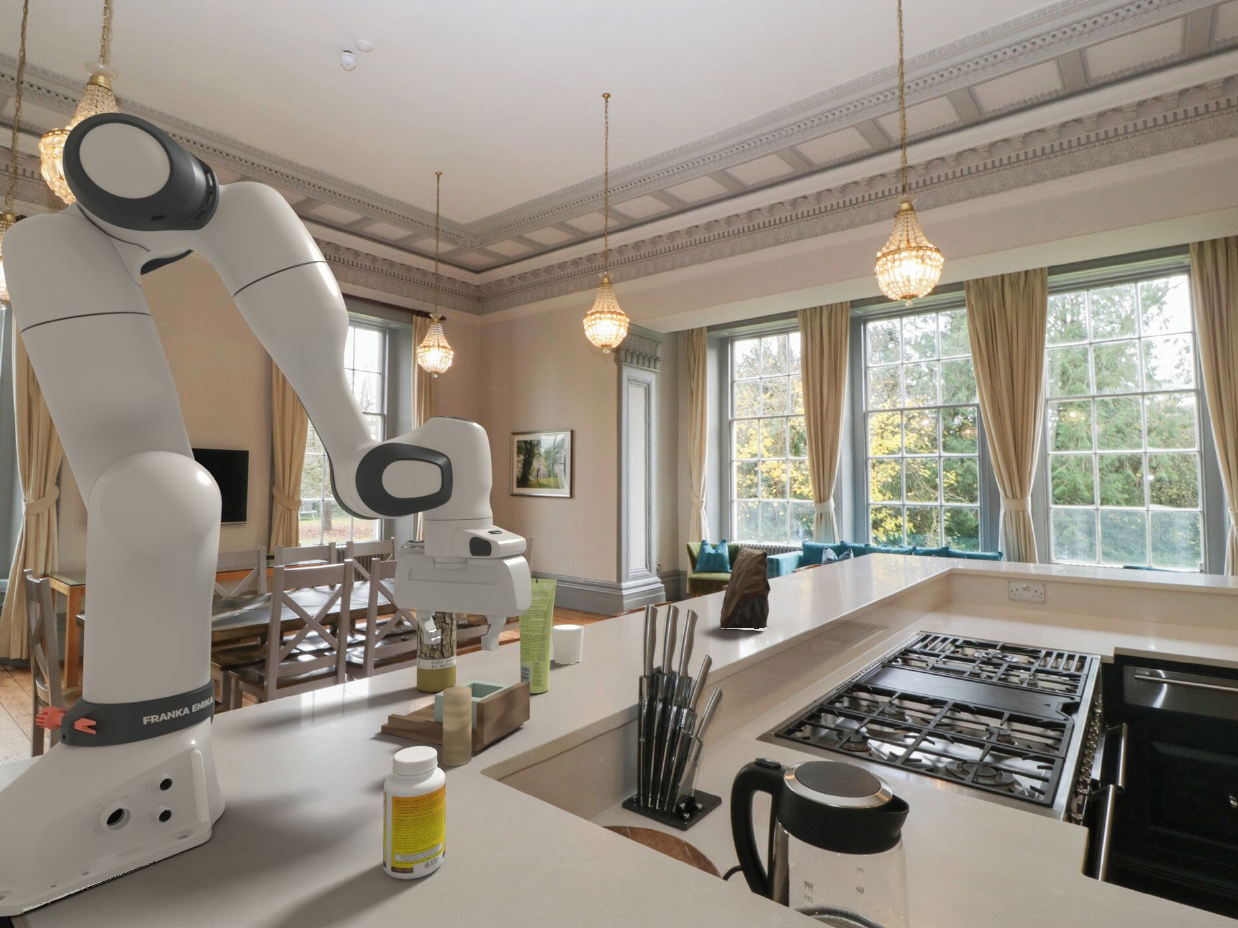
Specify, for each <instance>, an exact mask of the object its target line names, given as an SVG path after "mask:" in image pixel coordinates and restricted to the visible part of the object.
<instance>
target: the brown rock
mask: <svg viewBox="0 0 1238 928" xmlns="http://www.w3.org/2000/svg"><path fill="white" fill-rule="evenodd" d="M768 562H769V561H768V551H767V550H766V549H764V548H763V549H756V548H755V549H754V548H750V547H749V546H747V547H746V546H742V547H741V549H740V551H739V553H738V556H737V558H736V560H735V561H734V564H733V565H732V568H731V572H730V576H729V580H728V582H727V583H728V584H727V586H726V590H725V593H724V597H723V602H722V608H721V610H720V619H719V624H720V625H719V626H720V627H721V628H754V629H759V628H765V627H767V628H768V625H767V623H768V617H769V614H770V613H769V612H770V606H769V604H770V602H769V593H771V585H770V582H769V577H768V573H769V572H768V565H769V564H768ZM720 627H719V628H720Z"/></svg>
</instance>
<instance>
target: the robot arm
mask: <svg viewBox="0 0 1238 928" xmlns="http://www.w3.org/2000/svg"><path fill="white" fill-rule="evenodd" d="M61 156H62V158H61V163H62V171H63V175H64V178H65V181H66V183H67V186H68V188H69V190H70V191H71V193H72V195H73V197H75V201H71V203H70V204H69V206H67V207H66V208H64V209H62V210H60V211H57V213H55V212H54V213H40V214H36V215H32V216H28V217H25V218H22V219H21V220H18V221H16V222H15V223H13V224H12V225H10V227H8V228H7V230H5V232H4V234H3V236H2V238H1V242H0V251H1V257H2V258H1V260H2V267H3V268H2V269H3V274H4V280H5V286H6V290H7V294H8V300H9V302H10V306H11V311H12V313H13V316H14V318H15V319H14V320H15V322H16V325H17V328H18V331H19V333H20V334H19V335H20V337H21V340H22V342H23V345H24V348H25V350H26V353H27V356H28V359H29V362H30V365H31V366H32V369H33V371H34V372H33V373H34V374H35V377H36V379H37V383H38V386H39V387H40V390H41V393H42V397H43V398H44V401H45V405H46V407H47V410H48V412H49V415H50V417H51V420H52V422H53V425H54V429H56V433H57V435H58V438H59V440H60V443H61V446H62V448H63V451H64V454H65V456H66V459H67V461H68V465H69V467H70V470H71V472H72V474H73V478H74V480H75V483H76V485H77V488H78V490H79V494H80V496H81V499H82V501H83V504H84V507H85V510H86V513H87V519H86V523H87V524H86V527H87V528H86V559H85V560H86V561H85V562H86V563H85V564H86V565H85V566H86V568H85V597H84V598H85V599H84V600H85V601H84V602H85V603H84V604H85V605H84V627H83V628H84V629H83V632H84V633H83V662H82V663H83V665H82V666H83V667H82V669H83V670H82V671H83V672H82V695H81V696H80V697H78V698H77V701H76V702H75V703H74V705H72V707H71V708H69V709H68V710H67V709H65V708H62V707H58V706H54V705H49V706H45V707H43V708H41V709H40V710H39V712H40V713H37V714H36V716H35V717H36V718H35V719H34V720H35V721H36V722H35V724H36V725H37V726H38V727H39V728H44V729H48V730H54V731H55V730H58V729H60V734H59V735H60V736H59V741H58V742H57V743H55V745H53V746H52V747H51V748H50V749H49V750H48V751H47V752H45V753H44V754H43V755H42V756H40V758H38V759H37V760H36V761H34V763H33V764H31V765H30V766H29V767H28V768H27V769H26V770H24V771H23V772H22V773H21V774H20V775H19V776H17V777H16V778H15V779H14V780H12V782H10V783H9V784H7V785H6V786H5V787H4V788H2V790H0V917H10V916H19V915H22V914H21V912H22V910H23V908H27V907H30V906H35V905H38V904H42V903H43V902H48V901H49V900H52V899H53V898H56V897H58V896H61V895H64V894H65V893H70V892H71V891H75V890H76V889H81V888H82V887H87V886H88V885H92V884H94V883H95V884H96V883H98V882H101V881H105V880H107V879H110V880H112V879H111V878H112V877H115V878H117V877H116V876H118V875H120V876H123V875H124V874H123V873H126V874H128V873H127V871H131V870H132V869H136V868H137V867H141V866H143V867H146V866H148V865H150V864H149V863H151V864H153V862H154V861H155V862H158V861H162V860H163V859H166V858H169V857H171V856H174V855H176V854H179V853H182V852H184V851H186V850H188V849H191V848H194V847H197V846H200V845H202V844H204V843H206V842H207V841H209V840H210V838H211V837H212V834H213V833H212V832H213V825H214V824H215V822H216V821H217V820H218V819H219V818H220V817H221V816H222V815H223V813H224V812H225V809H226V801H225V798H224V797H223V793H222V791H221V787H220V783H219V779H218V774H217V768H216V764H215V756H214V747H213V739H212V738H213V735H212V724H213V721H214V716H215V711H216V709H215V708H216V706H215V703H216V702H215V701H216V696H215V695H216V691H215V690H216V687H215V685H216V684H215V680H214V678H213V677H212V676H211V666H212V665H211V660H212V657H211V656H212V614H213V613H212V611H213V599H214V593H215V592H214V591H215V585H216V578H217V577H216V576H217V570H218V569H217V567H218V560H219V549H220V537H221V536H220V535H221V534H220V533H221V523H222V506H223V505H222V504H223V502H222V494H221V490H220V487H219V484H218V483H217V481H216V480H215V477H214V476H213V475H212V474H211V472H210V471H209V470H208V469H206V468H205V467H204V466H203V465H202V464H200V462H198V461H196V460H195V456H194V452H193V450H192V446H191V442H190V439H189V434H188V431H187V428H186V427H187V426H186V424H185V419H184V416H183V411H182V407H181V404H180V398H179V393H178V392H179V391H178V389H177V385H176V383H175V380H174V377H173V374H172V371H171V370H172V369H171V368H170V364H169V362H168V360H167V356H166V353H165V350H164V347H163V344H162V341H161V338H160V336H159V333H158V330H157V327H156V324H155V321H154V318H153V316H152V315H153V314H152V312H151V309H150V306H149V304H148V302H147V298H146V297H145V296H146V295H145V292H144V288H143V285H142V280H141V279H142V278H141V276H142V275H143V276H144V275H147V274H149V273H151V272H154V271H156V270H158V269H160V268H162V267H164V266H167V265H171V264H173V263H176V262H179V261H181V260H183V259H185V258H187V257H188V256H190V255H191V254H192V253H194V252H195V253H197V254H198V255H200V256H202V257H203V258H204V259H205V260H207V262H209V264H210V265H211V266H212V267H213V269H215V271H216V272H217V274H218V275H219V276H220V279H221V280H222V282H223V284H224V287H226V290H227V292H228V293H229V295H230V297H231V299H232V301H233V302H234V305H235V306H236V308H237V309H238V311H239V313H240V315H242V316H241V317H243V319H244V321H246V323H247V325H248V327H249V328H250V329H251V331H252V332H253V334H254V335H255V337H256V338H257V340H258V341H259V343H261V345H262V347H263V348H264V349H265V350H266V352H267V353H268V355H269V356H270V357H271V359H272V360H273V362H274V363H275V364H276V366H277V367H278V369H279V370H280V371H281V373H282V374H283V376H284V377H285V378H286V380H287V381H288V383H289V384H290V386H291V387H292V388H293V390H294V392H295V395H296V396H297V398H298V400H299V402H300V403H301V406H302V407H303V410H304V412H305V413H306V415H307V417H308V420H309V421H310V423H311V425H312V426H313V427H312V428H314V430H315V432H316V435H317V437H318V439H319V441H320V442H321V444H322V446H323V449H324V452H325V453H326V456H327V460H328V464H329V465H328V466H329V480H330V488H331V489H330V490H331V493H332V495H333V498H334V500H335V502H336V503H337V505H338V506H339V507H340V508H341V509H342V511H344V512H345V513H346V514H347V515H350V516H352V517H354V518H356V519H360V520H366V521H375V520H376V521H377V520H382V519H383V520H384V519H385V520H388V519H390V520H392V519H394V520H395V519H402V518H406V517H409V516H412V515H413V514H419V513H422V514H423V535H424V536H423V539H421V540H419V539H418V540H416V539H408V540H406V541H405V542H404V543H402V544H401V546H400V548H398V550H397V562H396V566H395V572H394V581H393V602H394V604H395V605H396V607H397V608H398V609H403V610H415V619H416V622H417V621H418V623H419V624H420V626H421V628H422V630H423V632H424V643H425V644H433V645H434V644H437V643H440V641H441V637H440V635H441V629H436V626H435V624H434V621H433V619H432V616H434V615H435V611H438V612H451V613H456V614H464V615H465V614H466V615H477V616H487V624H488V625H490V628H489V630H488V632H487V634H485V635H481V637H480V639H481V640H480V642H481V645H480V647H481V650H482V651H487V652H488V651H489V652H493V651H495V650H498V649H499V646H500V641H499V639H500V637H499V635H500V634H501V633H502V631H503V628H504V626H505V625H506V623H507V618H515V617H519V615H522V614H525V613H526V612H527V611H528V609H529V608H530V606H531V598H532V596H531V579H532V578H531V572H530V567H529V564H528V561H527V559H526V558H525V557H524V556H523V555H521V554H524V553H525V552H526V550H527V541H526V538H525V537H523V536H522V535H519V534H516V533H514V532H510V531H509V530H507V529H504V528H501V527H499V526H497V525H494V518H493V516H494V515H493V511H492V510H493V509H492V507H491V502H490V496H491V491H492V488H493V467H492V465H493V464H492V455H491V446H490V441H489V436H488V435H487V431H486V429H485V428H484V427H483V426H482V425H481V424H480V423H477V422H476V421H474V420H471V419H467V418H462V417H460V416H459V417H458V416H448V415H438V416H437V415H436V416H433V417H430V418H429V419H428V420H427V421H426V422H425V423H423V424H422V425H419V426H418V427H416V428H414V429H412V430H411V431H408V432H406V433H404V434H401V435H399V436H396V437H394V438H390V439H388V440H384V441H380V440H379V439H378V438H377V437H376V436H375V435H374V433H373V432H372V430H371V427H370V426H369V423H368V421H367V420H366V417H365V415H364V413H363V411H362V409H361V407H360V405H359V403H358V401H357V398H356V396H355V395H354V392H353V390H352V389H351V386H350V384H349V381H348V377H347V374H346V369H345V368H346V367H345V351H346V350H345V349H346V344H347V337H348V332H349V325H350V317H349V314H348V310H347V306H346V303H345V300H344V297H343V294H342V291H341V289H340V286H339V283H338V282H337V280H336V277H335V275H334V273H333V272H332V270H331V268H330V266H329V264H328V262H327V260H326V257H324V255H323V253H322V251H321V249H320V247H319V246H318V245H317V243H316V241H315V240H314V238H313V236H312V235H311V233H310V232H309V230H308V229H307V227H306V226H305V224H304V223H303V221H302V220H301V218H300V217H299V216H298V215H297V213H296V212H295V210H294V209H293V208H292V206H291V205H290V204H289V203H288V201H287V200H286V199H285V198H284V197H283V195H282V194H281V193H280V192H279V191H278V190H276V189H275V188H273V187H272V186H270V185H267V184H265V183H261V182H257V181H236V182H232V183H228V184H227V183H226V184H220V183H219V178H218V176H217V173H216V171H215V170H214V168H213V167H211V166H210V165H209V164H208V163H207V162H205V161H203V160H202V159H201V158H200V157H198V156H197V155H195V154H194V153H193V152H191V151H189V149H187V148H186V147H184V146H183V145H182V144H181V143H179V141H177V139H176V138H173V136H171V135H170V134H168V133H167V132H166V131H164V130H163V129H161V128H160V127H159V126H157V125H155V124H153V123H152V122H149V121H148V120H145V119H143V118H141V117H139V116H135V115H132V114H129V113H128V114H127V113H122V112H103V113H97V114H94V115H93V114H92V115H91V116H88V117H86V118H84V119H82V120H81V121H80V122H78V123H77V124H76V125H75V126H74V127H73V128H72V130H70V132H69V134H68V135H67V137H66V139H65V141H64V145H63V149H62V155H61ZM155 862H154V863H155ZM145 865H146V866H145ZM141 868H142V867H141ZM136 870H137V869H136ZM131 872H132V871H131ZM122 874H123V875H122ZM118 877H119V876H118ZM105 882H106V881H105Z"/></svg>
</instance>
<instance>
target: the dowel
mask: <svg viewBox="0 0 1238 928" xmlns="http://www.w3.org/2000/svg"><path fill="white" fill-rule="evenodd" d="M471 715H472V689H471V688H470V687H466V686H457V685H455V687H450V688H446V689H445V690H443V745H442V764H443V765H445V766H447V767H460V766H464V765H467V764H469V763H470V762H471V761H472V751H471Z"/></svg>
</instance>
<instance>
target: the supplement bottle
mask: <svg viewBox="0 0 1238 928" xmlns="http://www.w3.org/2000/svg"><path fill="white" fill-rule="evenodd" d="M382 805H383V811H382V812H383V815H382V817H383V819H382V820H383V821H382V822H383V823H382V825H383V826H382V828H383V829H382V830H383V831H382V864H383V869H384V871H385V873H386V874H387V875H389V877H390V876H391V877H392V878H395V879H400V880H414V879H419V878H422V877H425V876H428V875H430V874H431V873H432V874H433V872H435V871H436V870H437V869H439V868H440V866H441V865H443V862H444V860H445V857H446V774H445V772H444V771H443V770H442V769H441V768H440V767H438V752H437V750H436V749H435V748H434V747H432V746H425V745H417V746H416V745H415V746H410V747H406V748H403V749H401V750H398V751H397V752H395V753H394V755H393V757H392V772H391V773H390V774H389V775H388V776H387V777H386V778H385V780H384V782H383V804H382Z"/></svg>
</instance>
